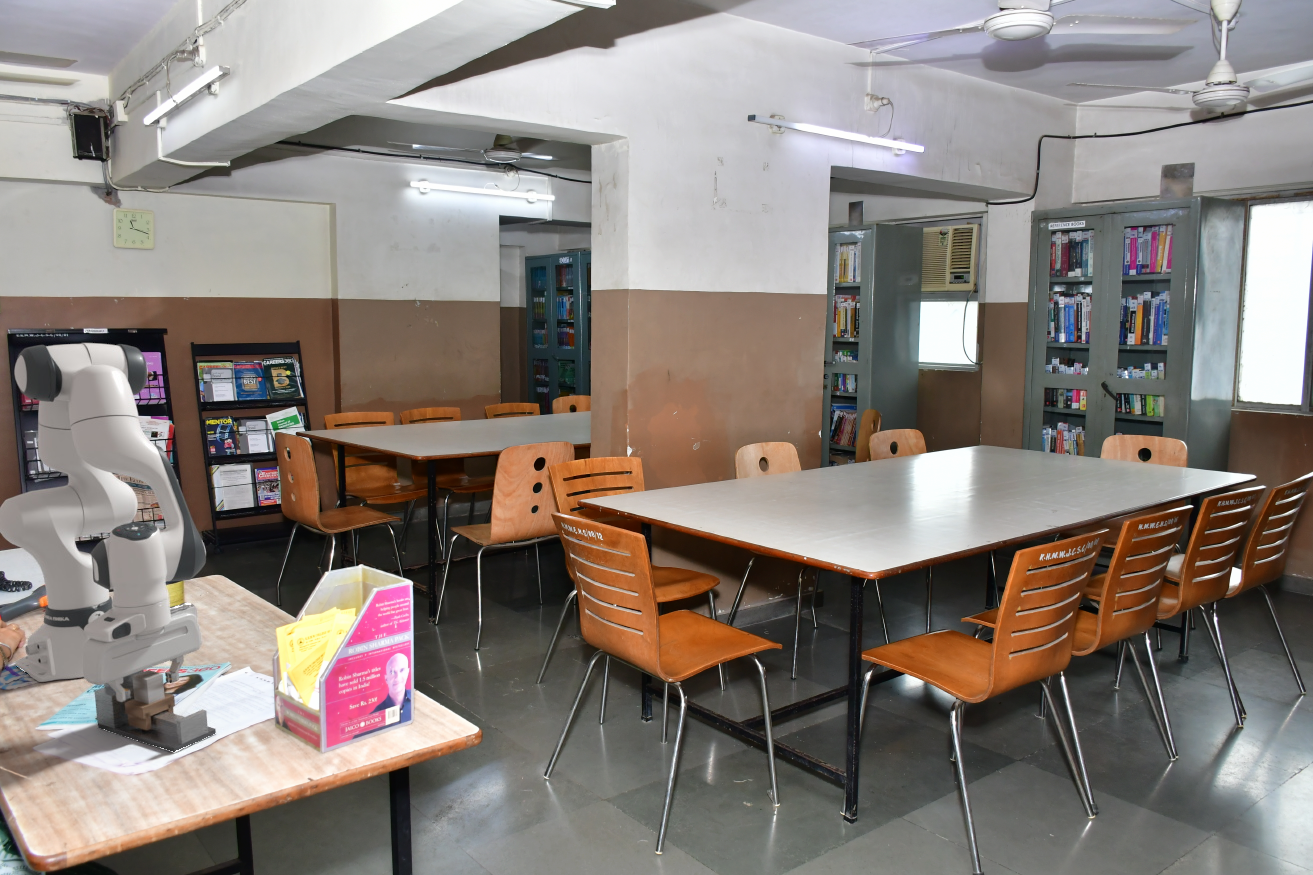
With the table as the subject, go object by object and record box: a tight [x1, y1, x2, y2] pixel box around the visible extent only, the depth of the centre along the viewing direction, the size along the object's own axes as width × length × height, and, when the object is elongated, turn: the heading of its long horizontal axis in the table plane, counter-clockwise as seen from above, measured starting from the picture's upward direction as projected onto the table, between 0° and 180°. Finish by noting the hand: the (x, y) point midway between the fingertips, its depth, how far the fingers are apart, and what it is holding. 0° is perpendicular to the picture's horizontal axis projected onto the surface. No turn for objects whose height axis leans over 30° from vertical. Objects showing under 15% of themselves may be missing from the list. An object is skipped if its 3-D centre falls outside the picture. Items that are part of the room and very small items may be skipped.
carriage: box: [125, 669, 176, 730], centre depth 166 cm, size 5×6×9 cm
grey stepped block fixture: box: [94, 670, 217, 752], centre depth 165 cm, size 21×8×10 cm, turn 62°
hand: (148, 690), depth 166 cm, fingers open, 8 cm apart
